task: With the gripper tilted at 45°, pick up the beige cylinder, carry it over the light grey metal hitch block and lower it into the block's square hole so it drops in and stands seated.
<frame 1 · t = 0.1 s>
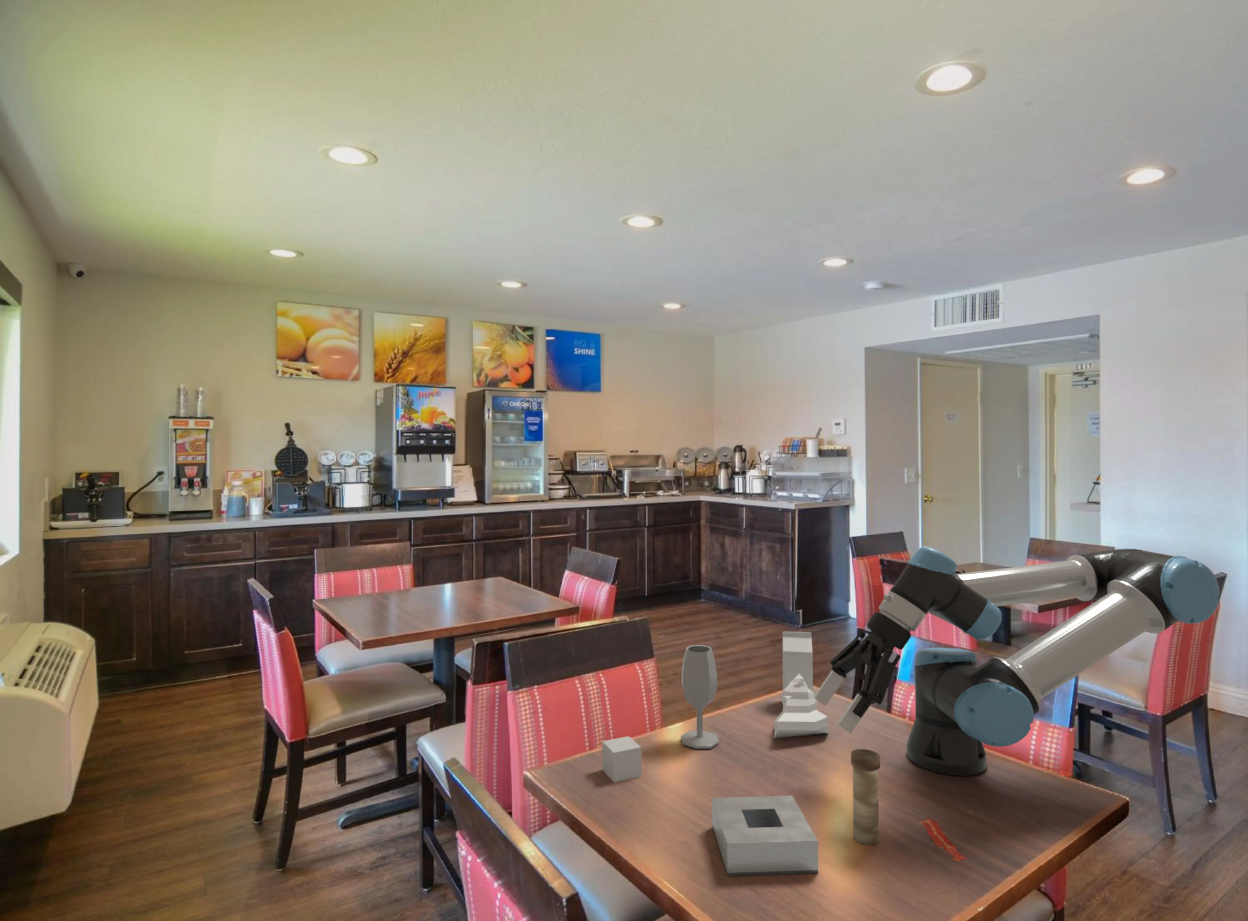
hand: (831, 714, 129), 15 cm above the table, tool tilted 35°, fingers open, 13 cm apart
beige cylinder: (866, 838, 115), on the table
hitch block: (762, 848, 112), on the table
bacon strip: (938, 837, 116), on the table
soft serve ice cream: (797, 735, 158), on the table
wineglass: (699, 742, 154), on the table
grey cube: (621, 774, 139), on the table
milk carton: (797, 707, 175), on the table
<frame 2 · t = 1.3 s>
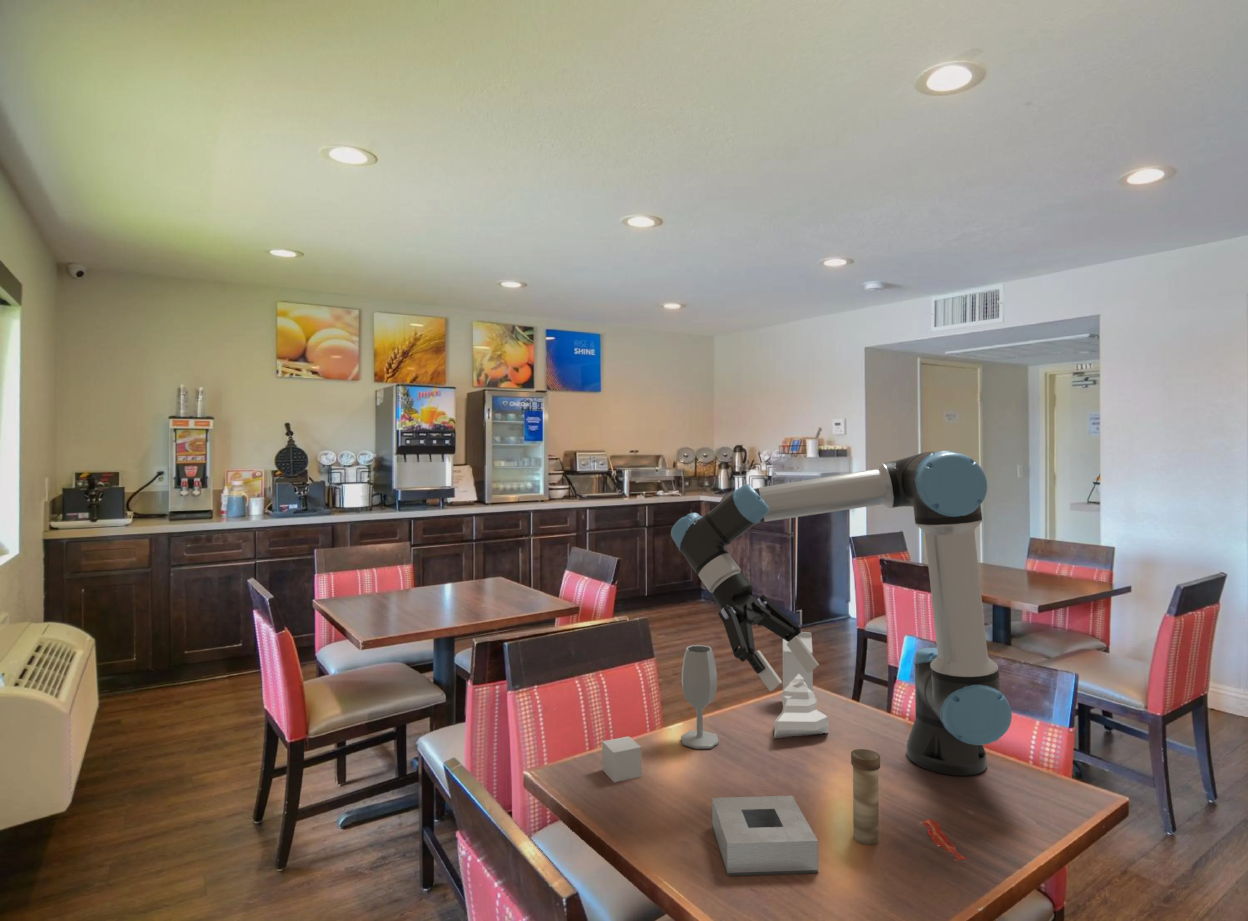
hand: (795, 677, 124), 24 cm above the table, tool tilted 45°, fingers open, 13 cm apart
nothing on the table moved.
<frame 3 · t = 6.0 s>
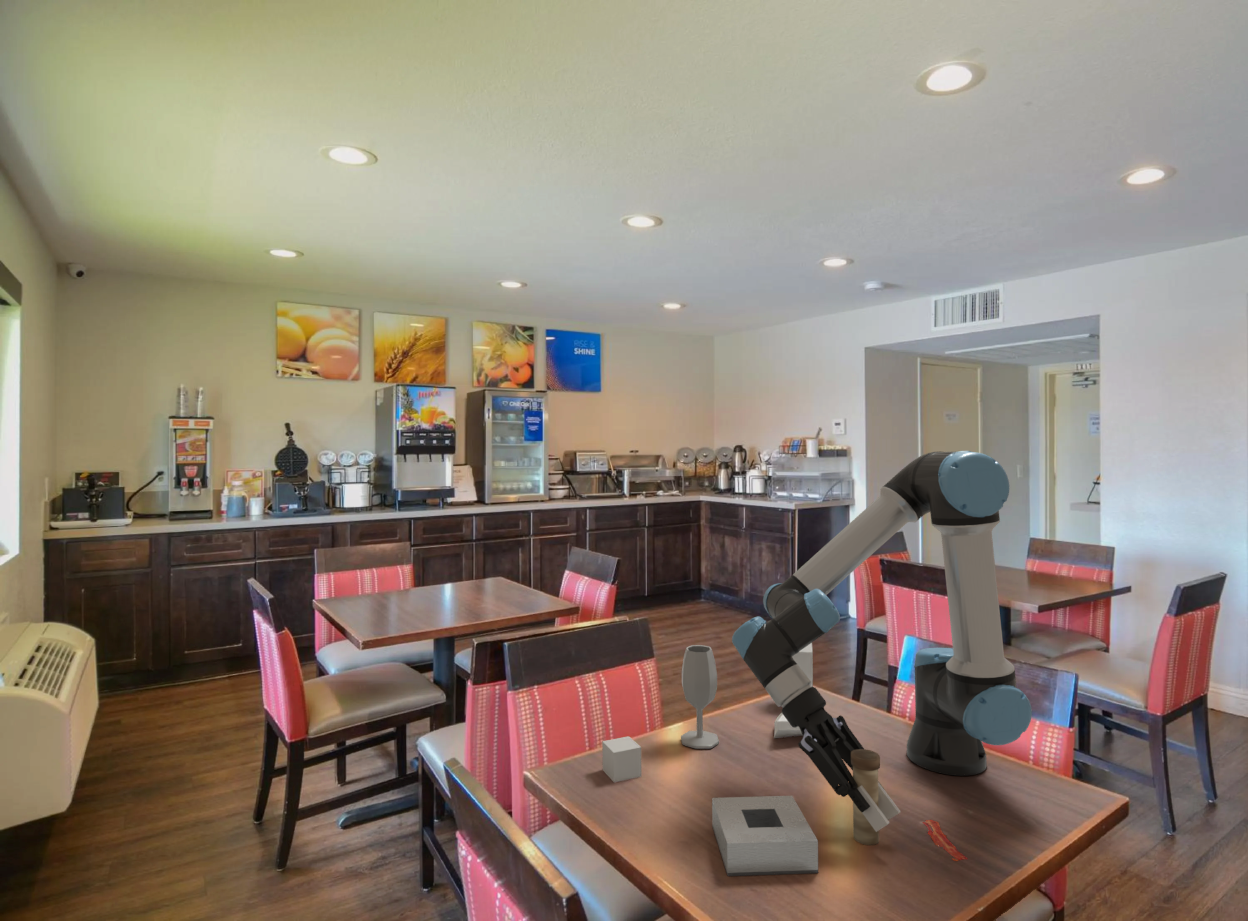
hand: (888, 821, 112), 4 cm above the table, tool tilted 45°, fingers closed on beige cylinder, 4 cm apart
beige cylinder: (866, 838, 115), on the table, touching gripper
everything else where it was.
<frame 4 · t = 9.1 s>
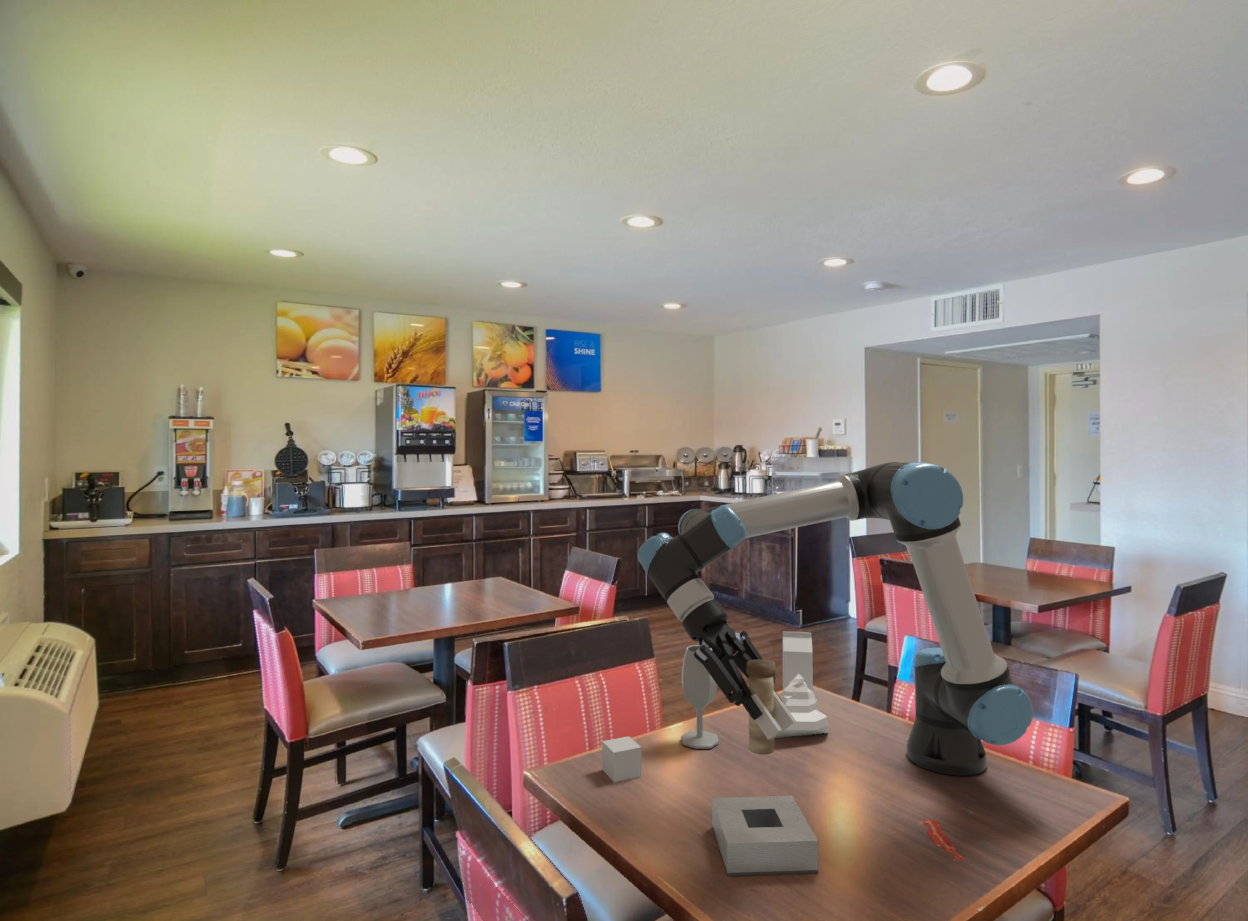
hand: (782, 729, 109), 20 cm above the table, tool tilted 45°, fingers closed on beige cylinder, 4 cm apart
beige cylinder: (761, 749, 112), point 16 cm above the table, touching gripper
everything else where it was.
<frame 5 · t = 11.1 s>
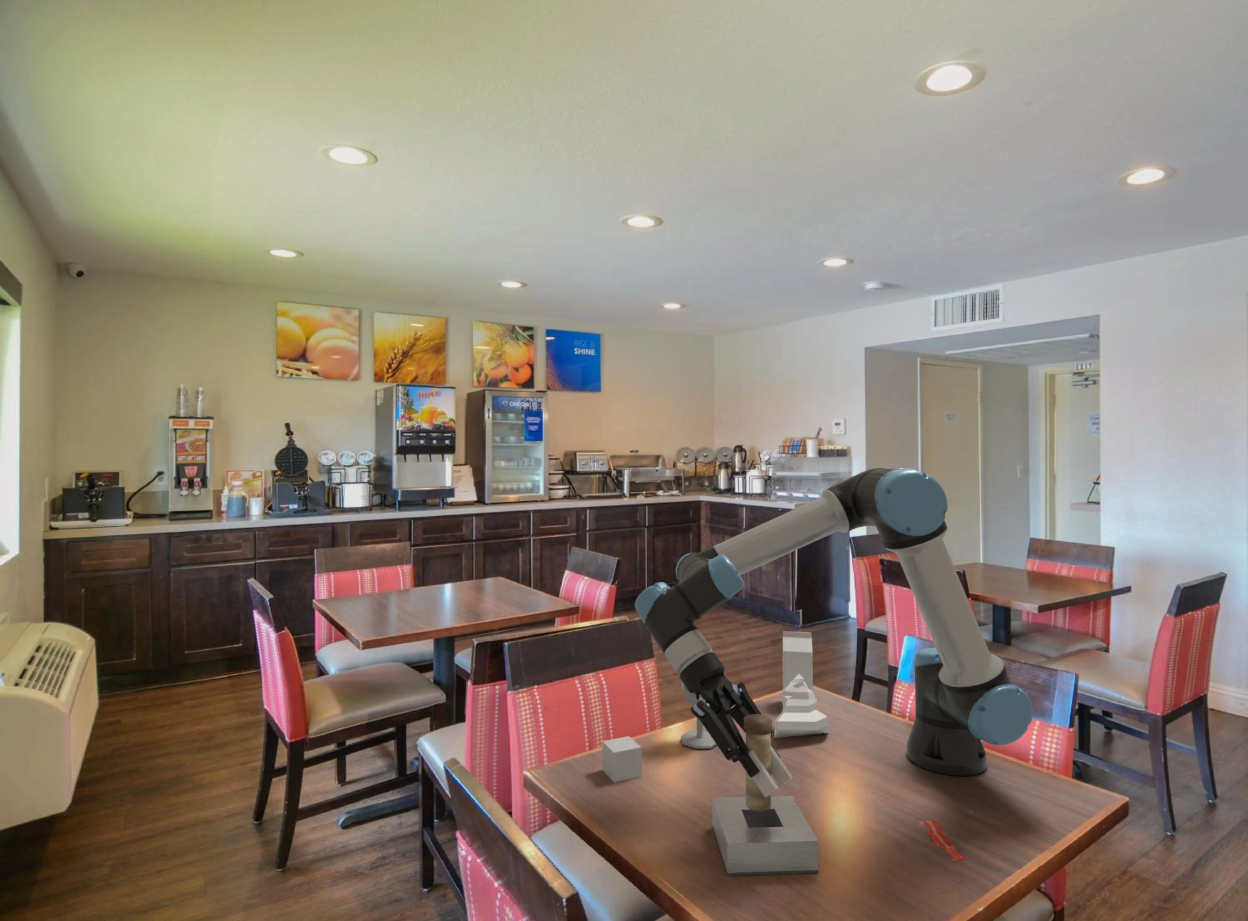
hand: (779, 787, 109), 11 cm above the table, tool tilted 45°, fingers closed on beige cylinder, 4 cm apart
beige cylinder: (758, 805, 112), point 7 cm above the table, touching gripper
everything else where it was.
when the fingers open (7 cm above the table, at t = 12.4 s): beige cylinder drops 2 cm, resting on hitch block.
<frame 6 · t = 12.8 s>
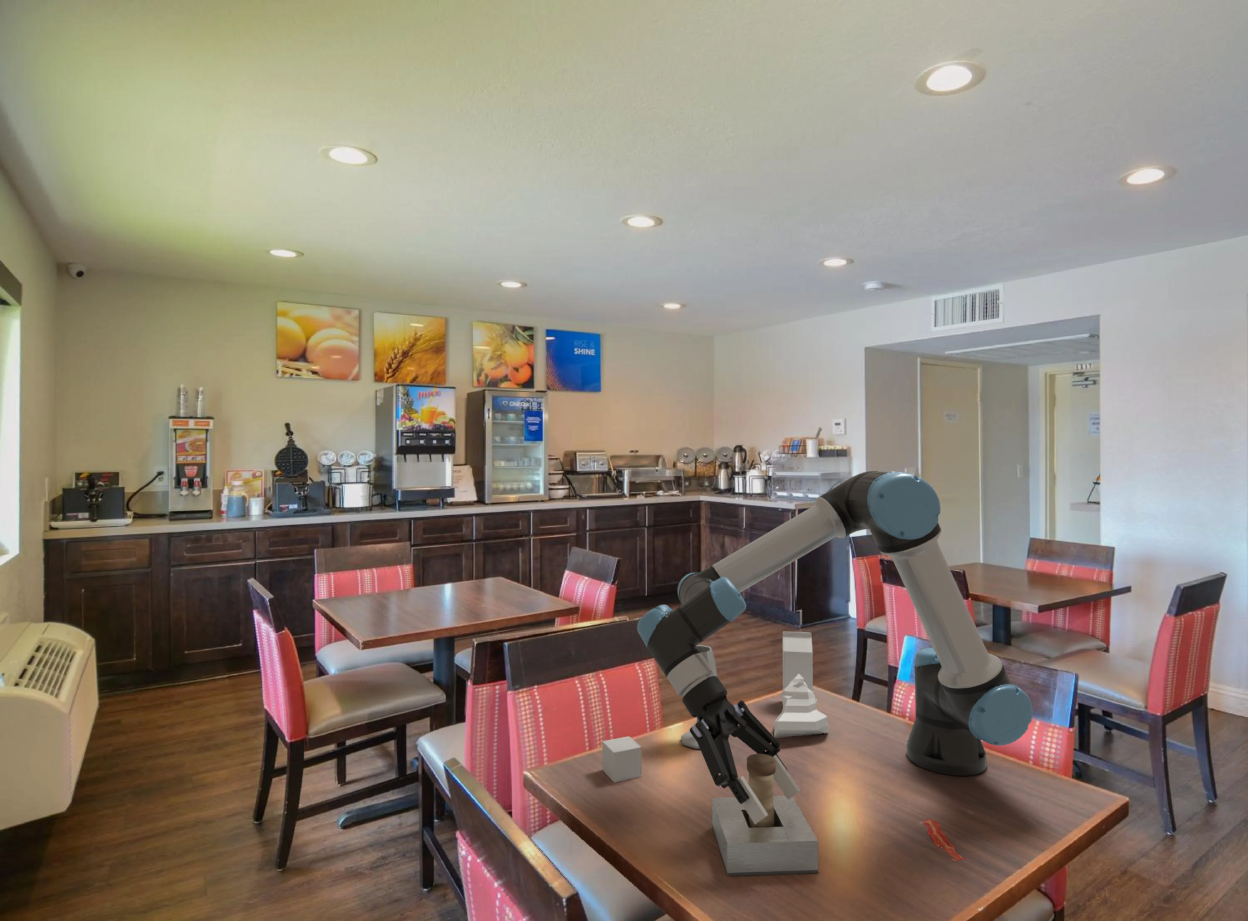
hand: (778, 806, 110), 8 cm above the table, tool tilted 45°, fingers open, 9 cm apart
beige cylinder: (761, 845, 112), point 1 cm above the table, touching hitch block
everything else where it was.
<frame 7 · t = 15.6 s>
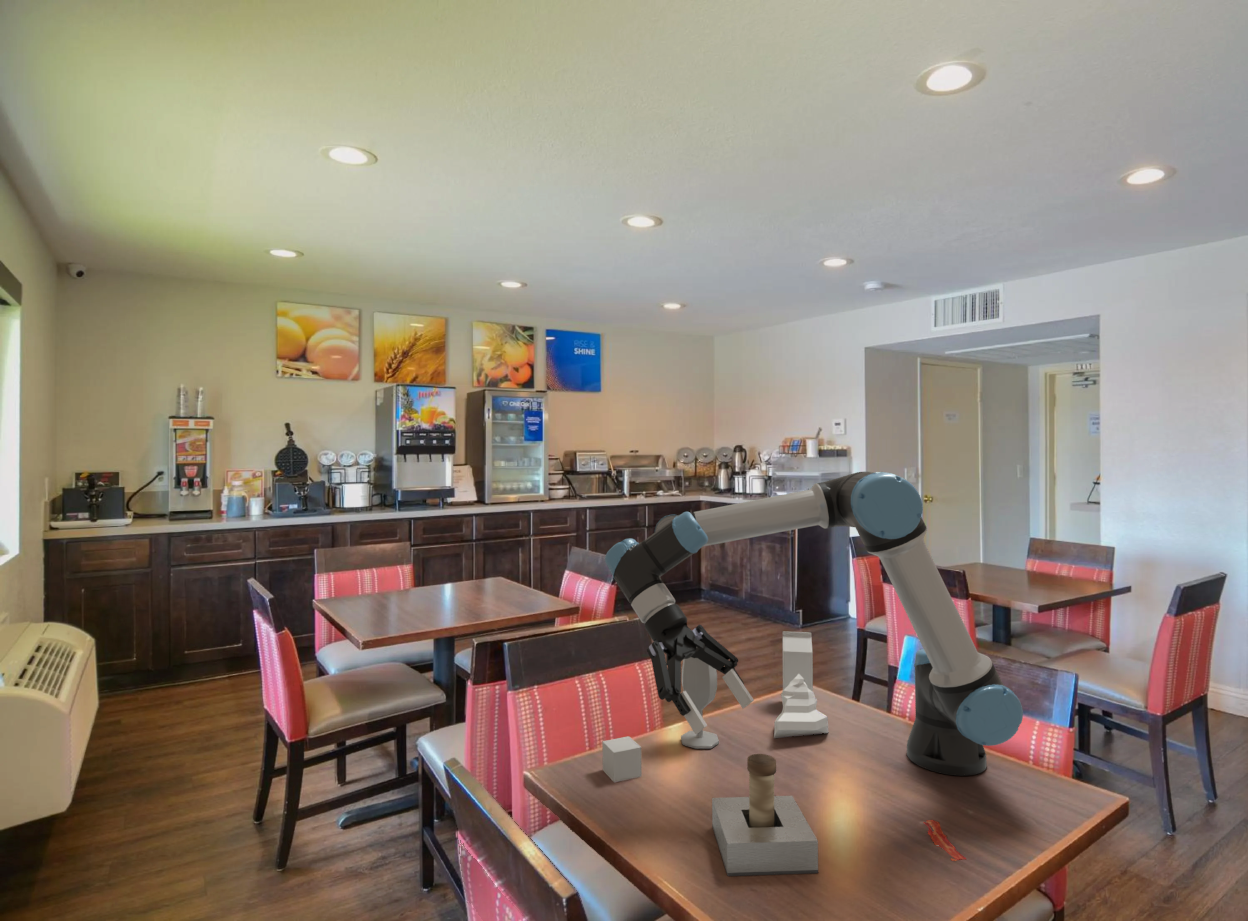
hand: (726, 716, 118), 19 cm above the table, tool tilted 45°, fingers open, 13 cm apart
nothing on the table moved.
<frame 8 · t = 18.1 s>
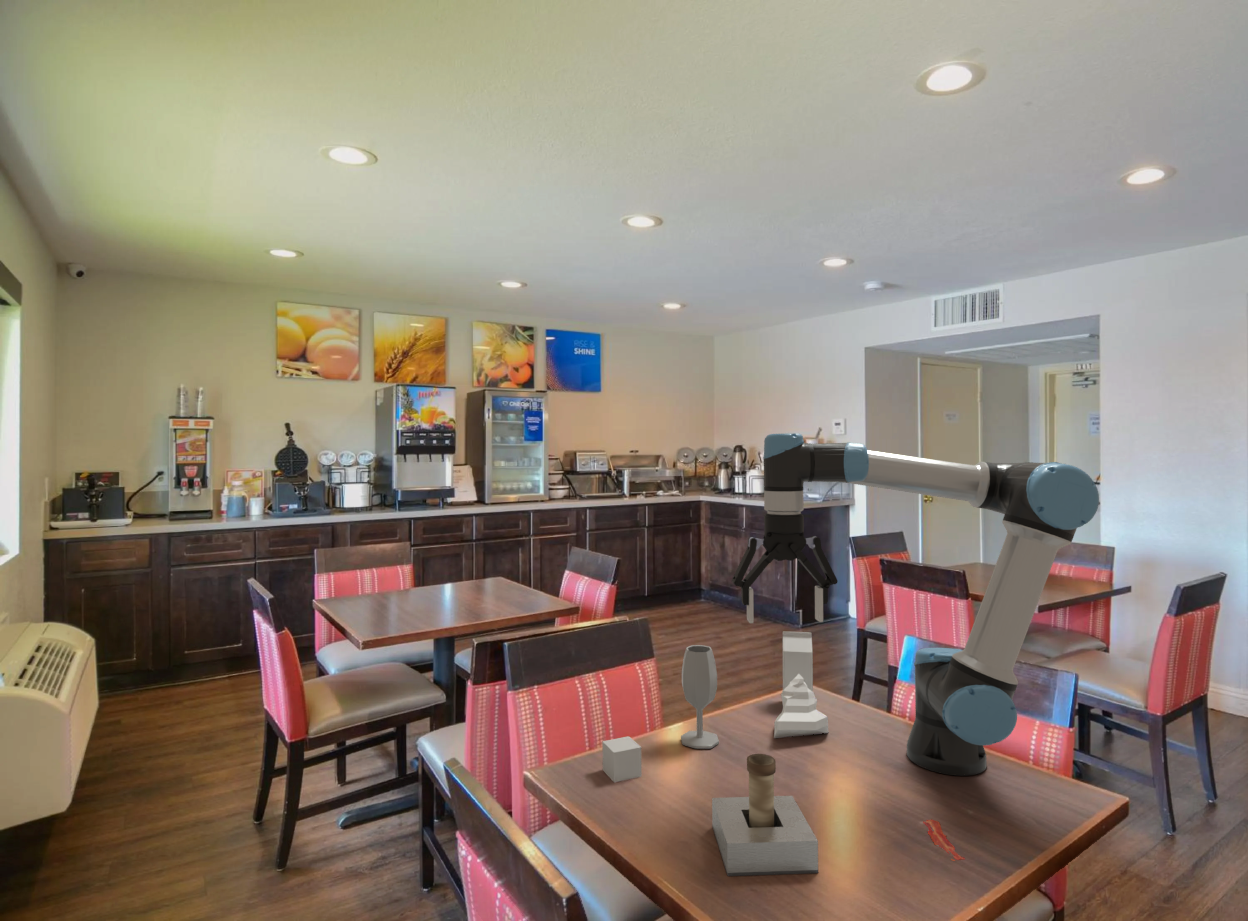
hand: (784, 621, 134), 32 cm above the table, tool pointing down, fingers open, 13 cm apart
nothing on the table moved.
at the end: beige cylinder 0.0 cm off-centre on the hitch block, point 0.5 cm above the hitch block's base; beige cylinder tilted 0°; the gripper is holding nothing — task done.
